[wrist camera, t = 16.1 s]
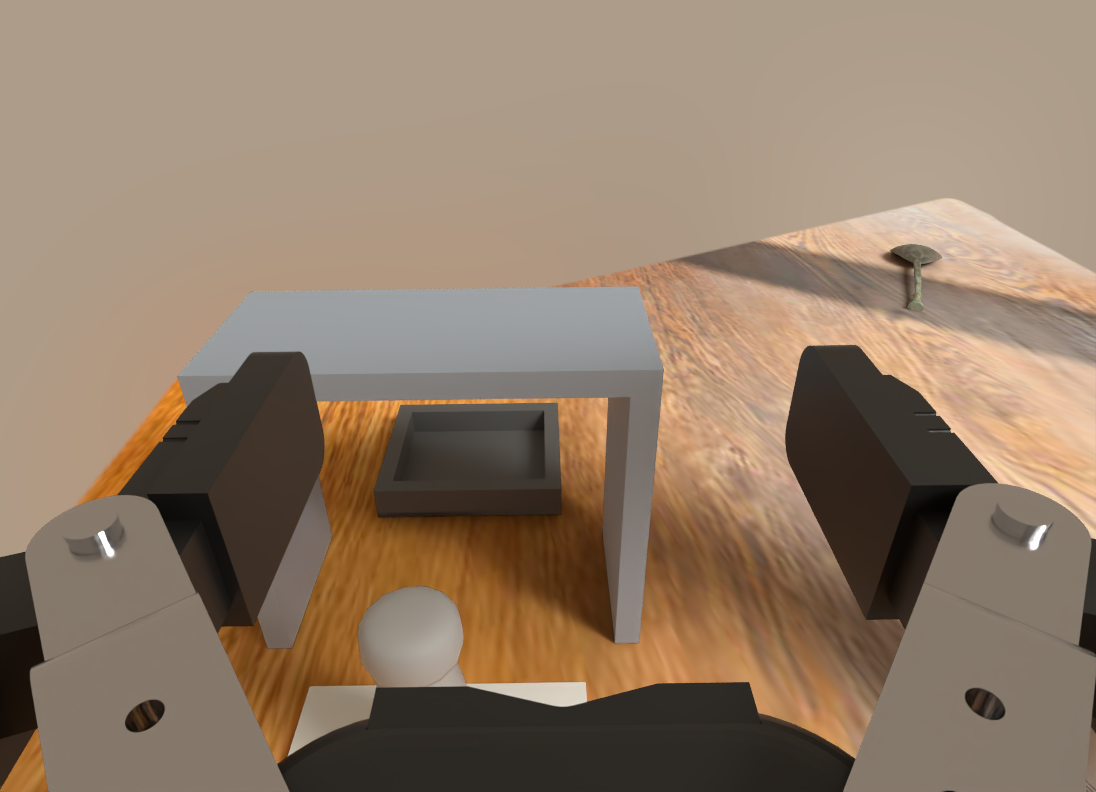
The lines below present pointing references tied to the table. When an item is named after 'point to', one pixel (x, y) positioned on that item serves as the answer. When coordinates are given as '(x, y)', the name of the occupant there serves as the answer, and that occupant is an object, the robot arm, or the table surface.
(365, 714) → the pad
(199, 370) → the gate
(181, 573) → the robot arm
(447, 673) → the salt shaker
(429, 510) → the pit box
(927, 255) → the soupspoon
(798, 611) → the table surface
